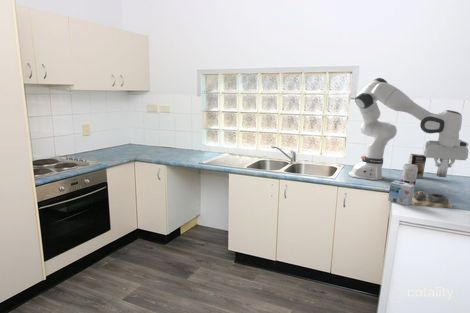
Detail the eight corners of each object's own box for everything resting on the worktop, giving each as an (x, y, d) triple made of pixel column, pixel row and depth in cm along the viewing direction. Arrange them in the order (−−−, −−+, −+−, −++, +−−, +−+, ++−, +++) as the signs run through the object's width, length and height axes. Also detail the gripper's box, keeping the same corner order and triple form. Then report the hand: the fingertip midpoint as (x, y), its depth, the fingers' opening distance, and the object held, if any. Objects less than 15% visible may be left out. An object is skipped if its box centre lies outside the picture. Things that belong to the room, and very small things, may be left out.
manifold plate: (415, 205, 173) (417, 194, 171) (407, 197, 184) (409, 187, 183) (451, 208, 170) (453, 197, 168) (441, 200, 181) (443, 190, 180)
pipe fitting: (438, 176, 171) (442, 158, 169) (435, 174, 175) (438, 157, 173) (447, 177, 170) (451, 159, 168) (443, 175, 174) (447, 157, 172)
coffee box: (409, 177, 227) (412, 155, 224) (406, 174, 233) (409, 153, 230) (423, 178, 226) (426, 156, 222) (419, 176, 232) (423, 154, 228)
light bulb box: (387, 200, 178) (390, 182, 176) (392, 197, 183) (394, 179, 180) (408, 206, 171) (411, 187, 168) (412, 203, 175) (415, 184, 173)
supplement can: (397, 186, 205) (400, 163, 201) (406, 185, 207) (410, 163, 204) (407, 190, 197) (411, 167, 194) (417, 189, 200) (421, 166, 197)
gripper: (428, 141, 167) (424, 166, 170) (472, 143, 164) (466, 169, 167) (424, 139, 173) (420, 163, 176) (465, 141, 170) (460, 166, 173)
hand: (443, 166), depth 171 cm, fingers closed on pipe fitting, 4 cm apart
